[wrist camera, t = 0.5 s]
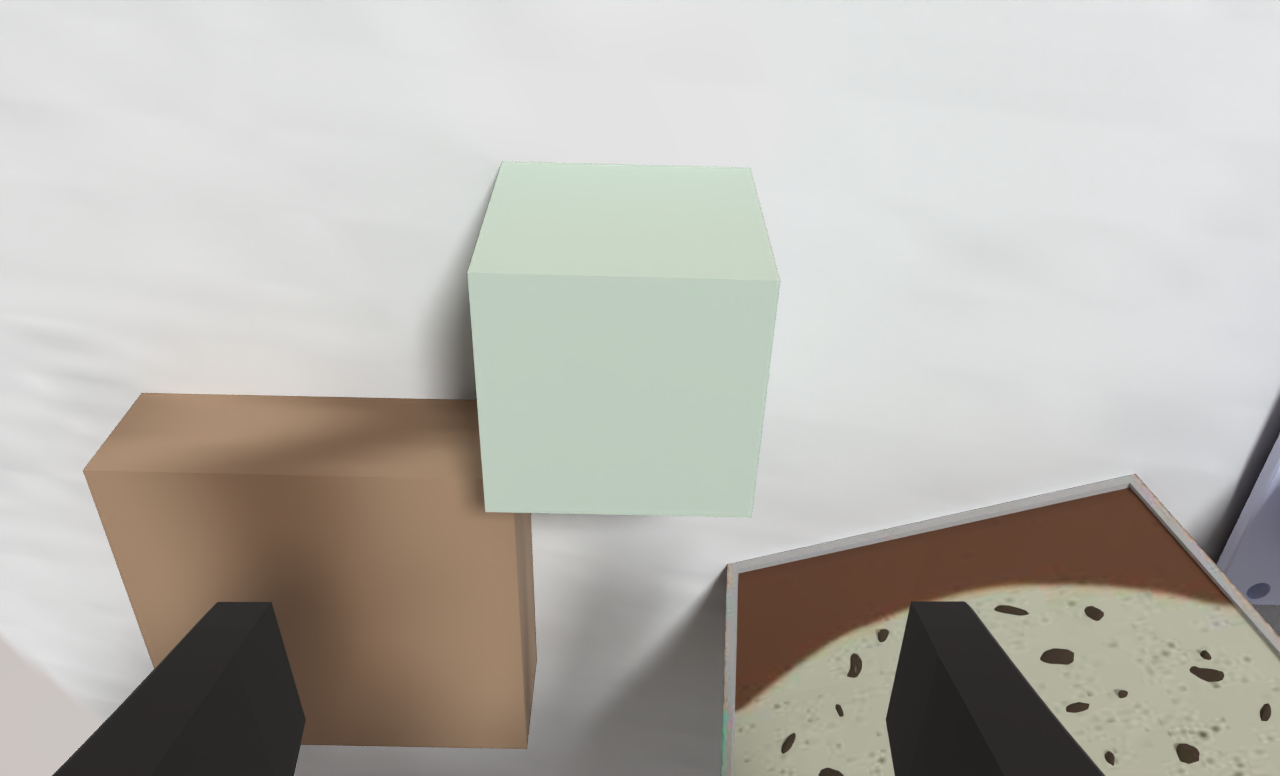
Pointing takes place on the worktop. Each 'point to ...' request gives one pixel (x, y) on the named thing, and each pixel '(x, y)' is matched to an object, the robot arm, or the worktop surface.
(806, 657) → the food container
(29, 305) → the worktop surface
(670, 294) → the sage cube
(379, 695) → the walnut block
